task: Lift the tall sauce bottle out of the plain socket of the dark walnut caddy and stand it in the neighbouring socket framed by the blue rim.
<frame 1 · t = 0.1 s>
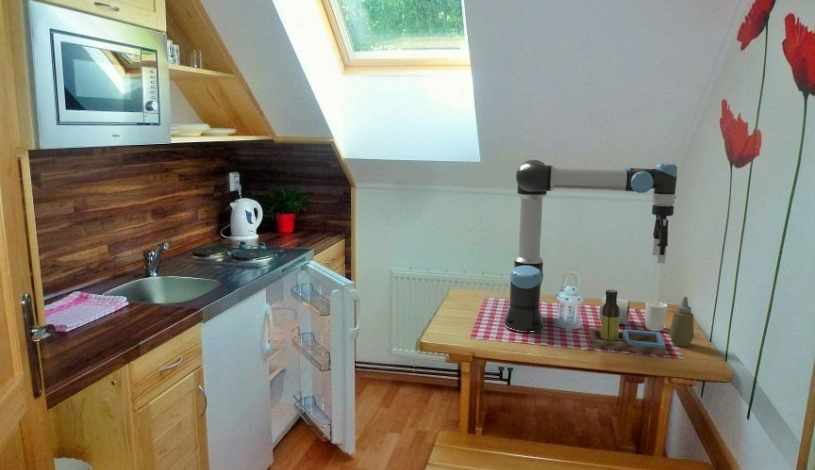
hand: (658, 259, 227), 28 cm above the table, tool pointing down, fingers open, 13 cm apart
toilet paper: (613, 322, 238), on the table
caddy: (625, 344, 214), on the table
white cup: (654, 328, 232), on the table
squeeze bottle: (680, 344, 215), on the table
sauce bottle: (608, 343, 216), resting in caddy
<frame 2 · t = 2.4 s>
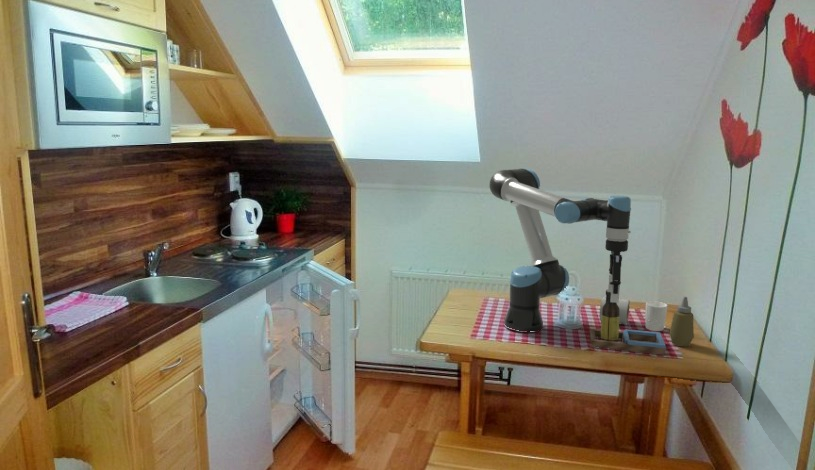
hand: (613, 297, 212), 18 cm above the table, tool pointing down, fingers open, 13 cm apart
nothing on the table moved.
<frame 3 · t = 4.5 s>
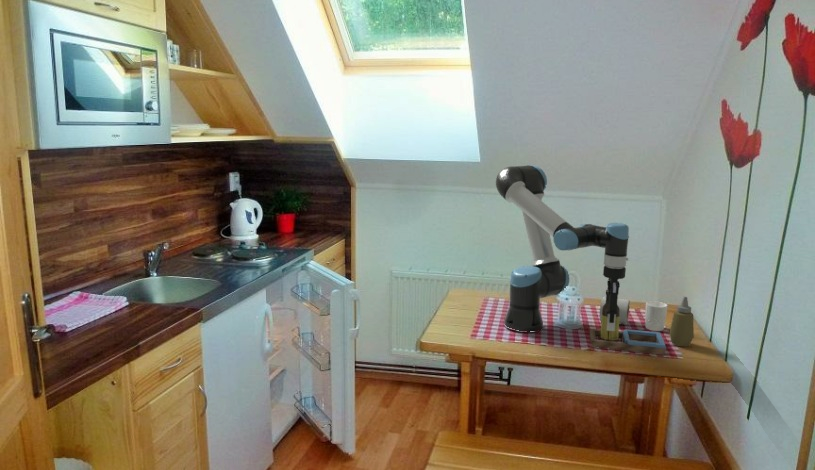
hand: (610, 327, 215), 6 cm above the table, tool pointing down, fingers closed on sauce bottle, 6 cm apart
sauce bottle: (608, 343, 216), resting in caddy, touching gripper
everything else where it was.
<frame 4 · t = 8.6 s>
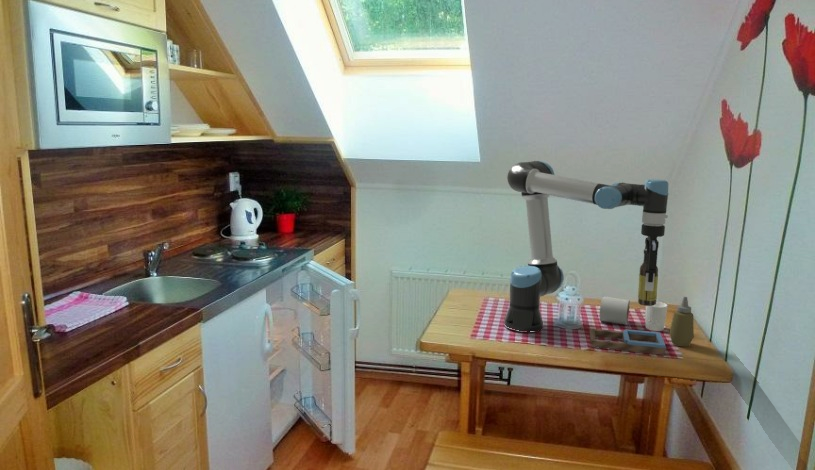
hand: (647, 287, 209), 22 cm above the table, tool pointing down, fingers closed on sauce bottle, 6 cm apart
sauce bottle: (646, 304, 210), point 16 cm above the table, touching gripper
everything else where it was.
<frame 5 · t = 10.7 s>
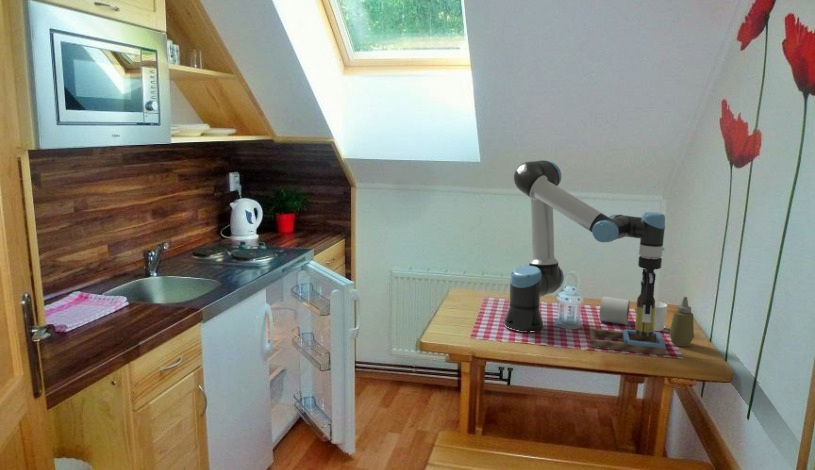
hand: (645, 318, 211), 10 cm above the table, tool pointing down, fingers closed on sauce bottle, 6 cm apart
sauce bottle: (643, 335, 212), point 4 cm above the table, touching gripper
everything else where it was.
when the fingers open (7 cm above the table, at t = 12.6 s): sauce bottle stays where it is, resting in caddy.
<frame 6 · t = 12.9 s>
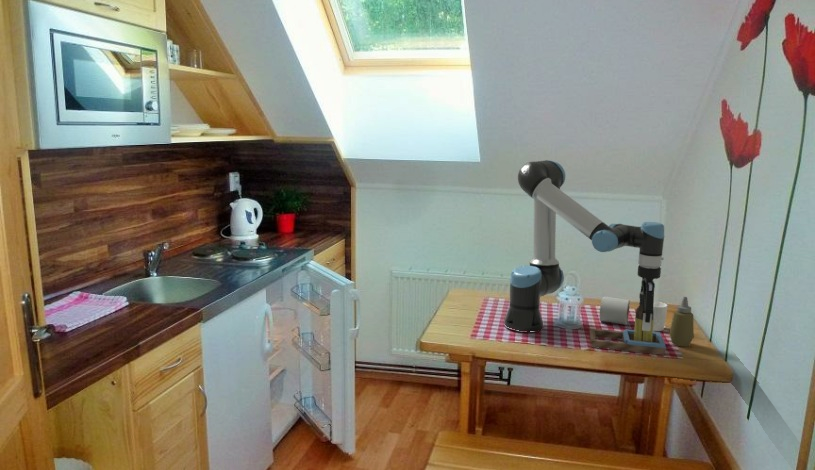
hand: (644, 325, 211), 8 cm above the table, tool pointing down, fingers open, 11 cm apart
sauce bottle: (642, 346, 213), resting in caddy
everything else where it was.
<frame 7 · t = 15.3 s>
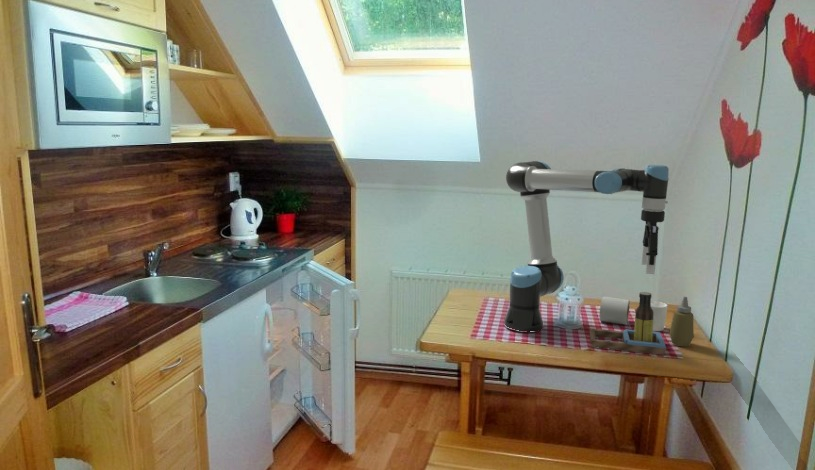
hand: (647, 269, 208), 29 cm above the table, tool pointing down, fingers open, 13 cm apart
nothing on the table moved.
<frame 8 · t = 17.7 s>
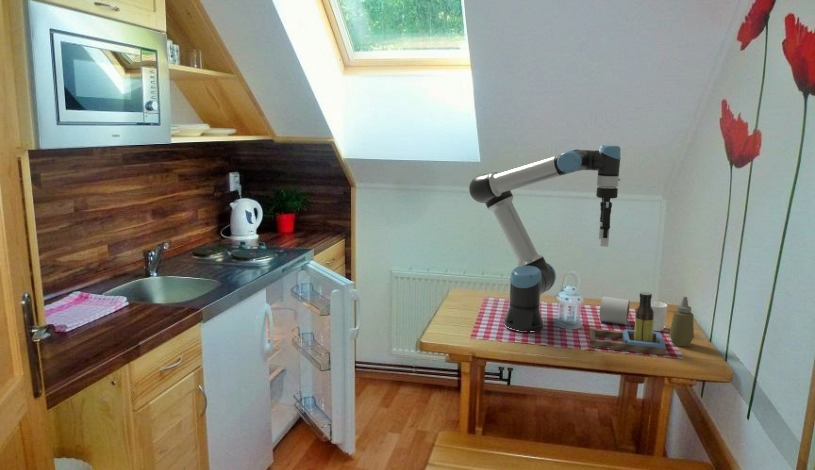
hand: (603, 242, 223), 35 cm above the table, tool pointing down, fingers open, 13 cm apart
nothing on the table moved.
at the end: sauce bottle 0.1 cm from the target spot on the caddy, point 0.0 cm above the caddy's base; sauce bottle tilted 0°; the gripper is holding nothing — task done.
